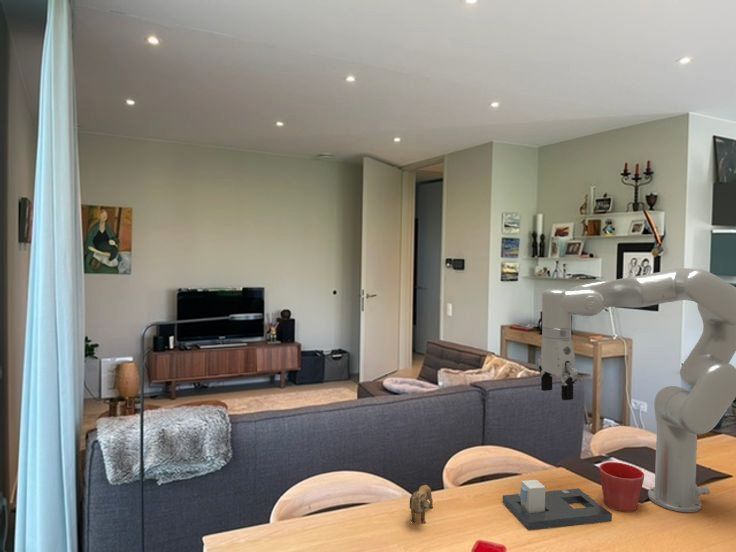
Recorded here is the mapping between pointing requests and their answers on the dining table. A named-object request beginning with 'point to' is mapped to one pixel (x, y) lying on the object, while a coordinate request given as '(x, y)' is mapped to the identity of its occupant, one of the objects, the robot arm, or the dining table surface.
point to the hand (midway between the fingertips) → (556, 394)
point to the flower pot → (621, 485)
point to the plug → (532, 496)
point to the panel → (559, 510)
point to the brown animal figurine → (420, 502)
